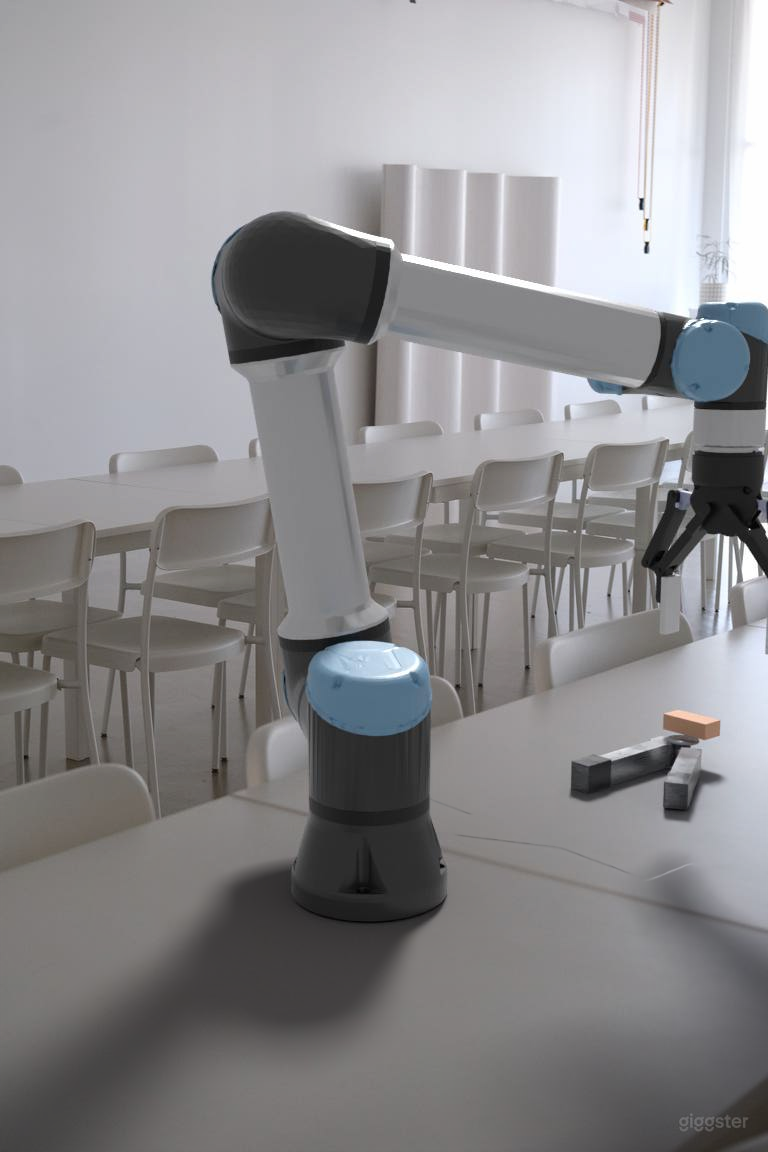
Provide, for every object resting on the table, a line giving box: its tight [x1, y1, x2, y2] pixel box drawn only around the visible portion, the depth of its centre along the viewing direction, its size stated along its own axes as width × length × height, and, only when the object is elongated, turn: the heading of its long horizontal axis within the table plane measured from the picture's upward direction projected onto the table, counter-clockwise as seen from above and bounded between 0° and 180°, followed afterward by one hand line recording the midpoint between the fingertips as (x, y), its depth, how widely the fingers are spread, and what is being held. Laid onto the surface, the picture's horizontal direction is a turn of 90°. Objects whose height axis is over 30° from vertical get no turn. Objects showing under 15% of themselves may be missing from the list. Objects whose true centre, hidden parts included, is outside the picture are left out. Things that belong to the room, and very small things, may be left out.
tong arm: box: [662, 734, 703, 811], centre depth 165 cm, size 18×5×3 cm, turn 161°
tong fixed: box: [570, 735, 692, 794], centre depth 168 cm, size 18×5×3 cm, turn 131°
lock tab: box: [662, 709, 721, 741], centre depth 173 cm, size 3×6×2 cm, turn 41°
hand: (720, 642), depth 152 cm, fingers open, 13 cm apart
